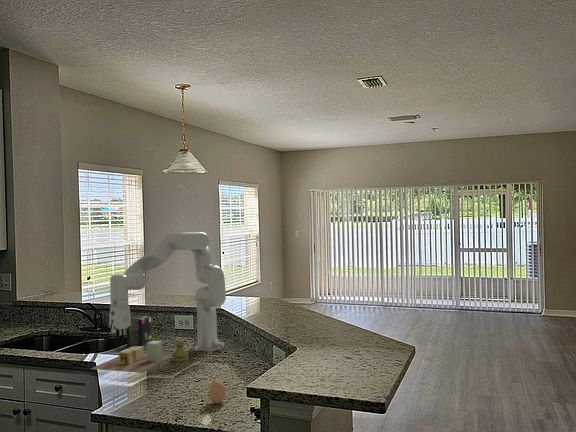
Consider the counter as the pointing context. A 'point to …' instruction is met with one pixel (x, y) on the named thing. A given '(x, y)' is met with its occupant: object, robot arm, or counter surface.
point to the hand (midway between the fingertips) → (120, 344)
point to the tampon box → (139, 331)
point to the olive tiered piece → (180, 353)
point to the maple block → (131, 355)
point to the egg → (217, 392)
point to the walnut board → (131, 365)
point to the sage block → (154, 351)
